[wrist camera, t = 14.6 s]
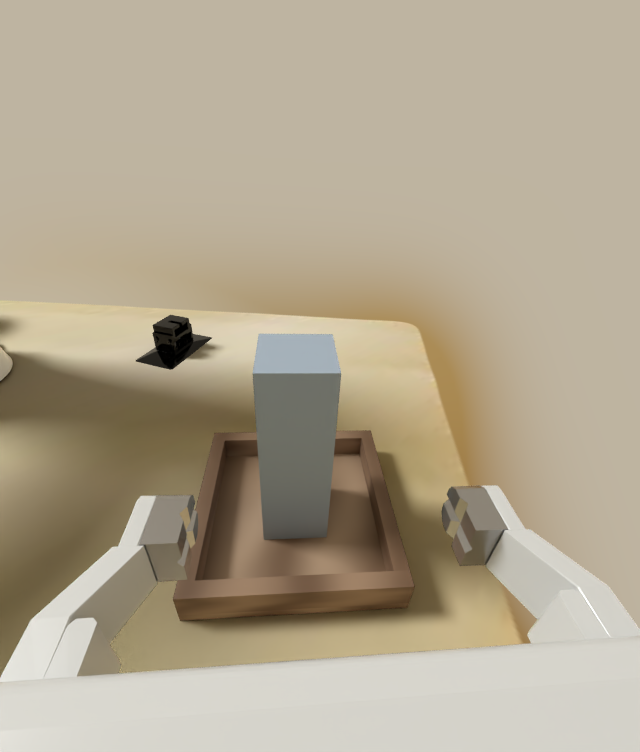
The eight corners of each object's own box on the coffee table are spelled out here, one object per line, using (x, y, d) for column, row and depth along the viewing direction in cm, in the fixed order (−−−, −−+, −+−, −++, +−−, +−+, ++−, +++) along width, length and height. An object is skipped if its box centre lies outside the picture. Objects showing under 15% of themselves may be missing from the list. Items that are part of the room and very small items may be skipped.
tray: (179, 620, 22) (172, 599, 21) (217, 453, 34) (214, 432, 32) (407, 607, 23) (414, 586, 22) (367, 450, 35) (370, 430, 34)
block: (263, 539, 26) (252, 373, 18) (266, 489, 30) (258, 333, 22) (326, 537, 26) (340, 373, 19) (321, 487, 30) (332, 334, 23)
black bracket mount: (170, 380, 44) (163, 347, 42) (120, 368, 46) (111, 336, 44) (223, 337, 54) (220, 308, 52) (180, 329, 56) (175, 301, 54)
